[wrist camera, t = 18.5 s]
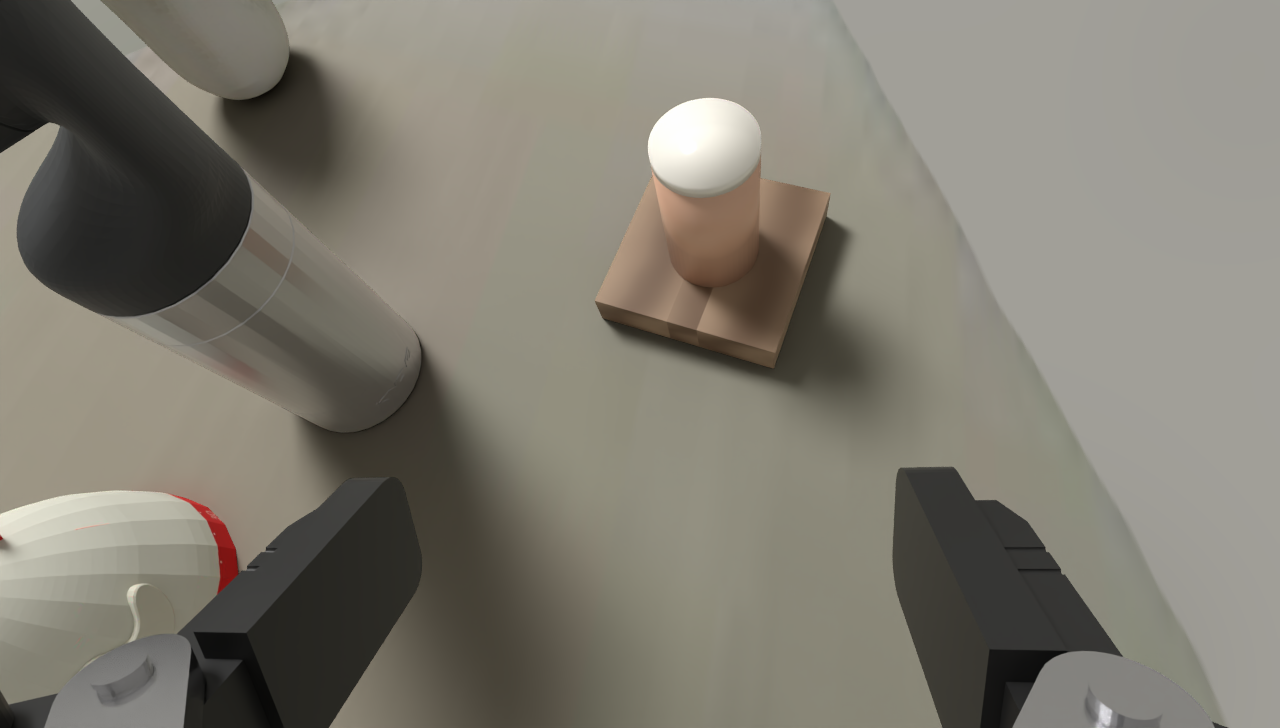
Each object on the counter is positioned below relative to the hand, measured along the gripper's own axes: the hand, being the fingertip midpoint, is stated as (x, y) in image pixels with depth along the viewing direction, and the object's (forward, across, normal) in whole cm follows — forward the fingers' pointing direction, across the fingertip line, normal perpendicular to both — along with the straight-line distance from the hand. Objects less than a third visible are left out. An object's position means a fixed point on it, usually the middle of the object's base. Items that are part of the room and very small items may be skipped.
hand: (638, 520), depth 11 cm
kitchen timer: (+20, +37, +20) cm, 47 cm away
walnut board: (+36, 0, +4) cm, 36 cm away
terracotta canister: (+34, 0, +3) cm, 34 cm away
